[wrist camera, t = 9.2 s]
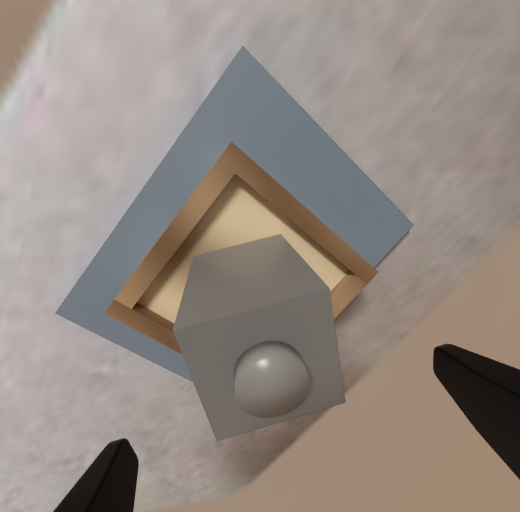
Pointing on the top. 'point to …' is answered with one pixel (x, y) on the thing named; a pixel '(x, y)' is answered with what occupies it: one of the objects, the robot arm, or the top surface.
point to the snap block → (258, 336)
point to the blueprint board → (197, 167)
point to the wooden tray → (233, 244)
